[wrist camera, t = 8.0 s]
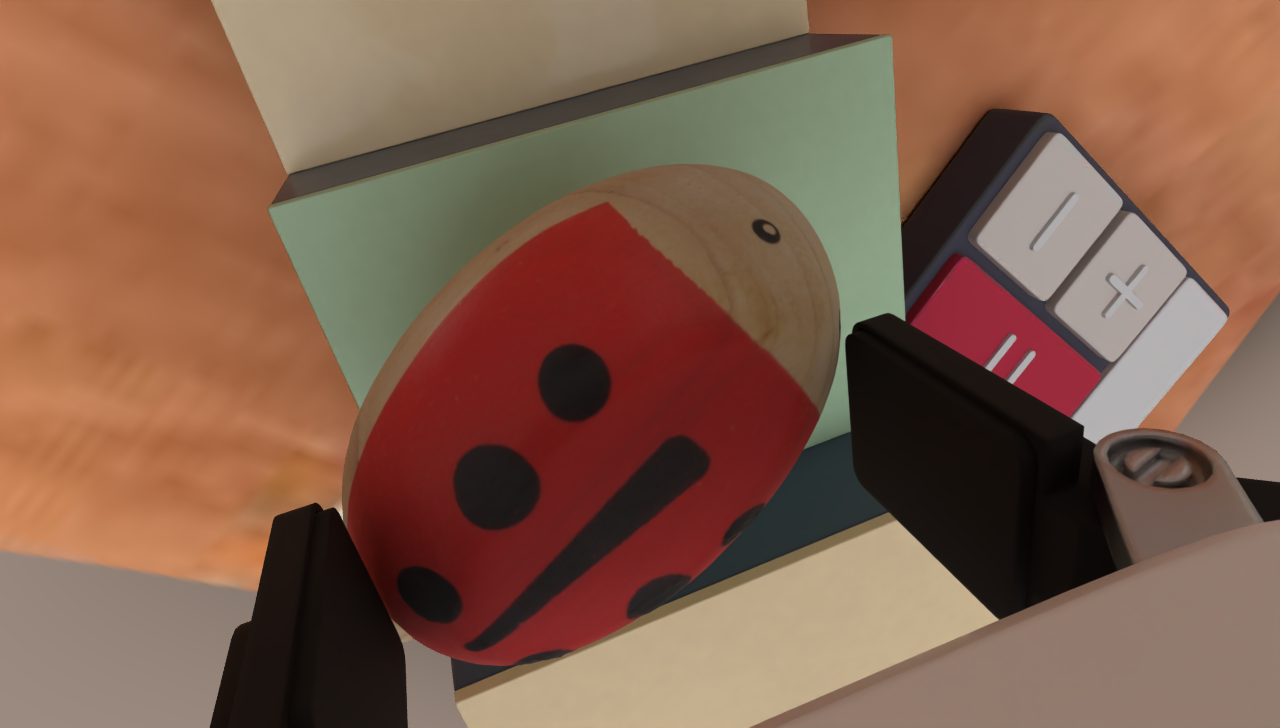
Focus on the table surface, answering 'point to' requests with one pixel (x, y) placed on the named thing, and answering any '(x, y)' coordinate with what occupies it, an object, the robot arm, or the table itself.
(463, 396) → the ladybug figurine
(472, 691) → the step rack
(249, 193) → the table surface
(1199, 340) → the calculator
